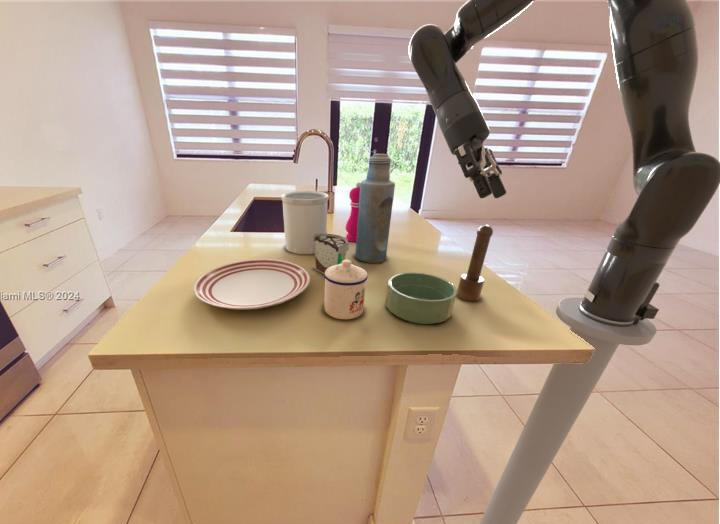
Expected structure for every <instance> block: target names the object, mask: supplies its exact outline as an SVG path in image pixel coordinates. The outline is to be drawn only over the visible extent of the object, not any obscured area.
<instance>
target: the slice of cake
mask: <svg viewBox="0 0 720 524" xmlns="http://www.w3.org/2000/svg"><path fill="white" fill-rule="evenodd" d="M313 241H314V248H315V254H314V266H315V270H316V271H318V272H319V273H321V274H323V275H324V273H325V271H326V269H327V268H329V267H331V266H334V265H338V264H342V261H343V260H346V256H347V252H348V251H349V250H350V246H349V241H348V240H347V239H346V237H345V236H342V235H339V234H333V233H327V234H314V237H313Z"/></svg>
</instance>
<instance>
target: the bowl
mask: <svg viewBox="0 0 720 524" xmlns="http://www.w3.org/2000/svg"><path fill="white" fill-rule="evenodd" d="M387 283H388V284H387V288H386V297H385V306H386V308H387V309H388V311H389V312H390V313H392V314H393V315H395V316H396V317H398V318H400V319H402V320H404V321H406V322H410V323H413V324H420V325H433V324H439V323H443V322H445V321H447V320H448V319H450V318H451V317H452V313H453V309H454V306H455V300H456V299H457V298H456V297H457V295H456V294H457V289H458V288H457V287H456V286H455V285H454V284H453V283H452V282H451V281H449V280H447V279H445V278H443V277H440V276H437V275H434V274H429V273H424V272H402V273H397V274H395V275H393V276H391V277H390V278H389V279H388V282H387Z"/></svg>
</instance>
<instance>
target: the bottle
mask: <svg viewBox="0 0 720 524" xmlns="http://www.w3.org/2000/svg"><path fill="white" fill-rule="evenodd" d="M391 164H392V159H391V157H389V154H386V153H372V156H370V157H369V159H368V168H367V173H366V178H365V179H364V180H361V181H360V183H361V184H360V198H359V213H358V226H357V241H356V242H355V258H356V259H357V260H359V261H361V262H365V263H370V264H371V263H373V264H374V263H375V264H376V263H381V262H384V261H385V260H386V258H387V253H388V246H389V245H388V244H389V235H390V229H391V219H392V213H393V206H394V205H393V204H394V197H395V187H396V183H395V182H394V181H393V180H391V179H390V177H391Z"/></svg>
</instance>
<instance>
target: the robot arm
mask: <svg viewBox="0 0 720 524" xmlns="http://www.w3.org/2000/svg"><path fill="white" fill-rule="evenodd" d="M535 1H536V0H467V1H466V2H465V3H464V4H463V5H462V6H460V7H459V9H458V10H457V13H456V17H455V21H454V24H453V25H452V26H450V27H449V29H448V30H447V31H446V32H444V31H443V29H442V28H441V27H439V26H438V25H436V24H433V23H429V24H424V25H422V26H420V27H419V28H418V29H417V30H416V31H415V32H414V34H413V35H412V37H411V39H410V41H409V45H408V57H409V60H410V63H411V65H412V67H413V69H414V70H415V72H416V74H417V76H418V79H419V80H420V82H421V84H422V85H423V87H424V89H425V91H426V94H427V98H428V100H429V104H430V105H431V107H432V110H433V112H434V114H435V116H436V119H437V123H438V126H439V129H440V132H441V133H442V136H443V137H444V140H445V142H446V144H447V146H448V149H449V151H450V153H451V155H453V156H456V159H457V162H458V164H459V166H460V168H461V171H462V173H463V176H464V178H465V179H468V180H469V181H470V182H472V183H473V186H474V188H475V190H476V192H477V194H478V197H479V198H480V199H485V198H488V197H489V196H491V195H493V198H494V199H499V198H501V197H503V196H505V195H506V194H507V190H506V188H505V186H504V184H503V181H502V179H501V175H502V174H503V171H502V170H501V167H500V165H499V164H498V161H497V159H496V157H495V155H494V153H493V150H492V149H491V148H488V147H485V146H484V145H483V143H484V141H486V140H487V139H488V137H489V136H490V133H491V129H490V128H489V125H488V123H487V121H486V119H485V117H484V115H483V112H482V110H481V108H480V106H479V103H478V102H477V99H476V98H475V97H474V95H473V94H472V92H471V90H470V88H469V85H468V84H467V81H466V78H464V76H463V74H462V72H461V71H460V69H459V67H458V65H457V63H458V62H459V61H460V60H461V59H462V58H463V57H465V56H466V54H467V53H468V52H469V51H470V50H471V49H473V47H474V46H476V45H477V44H478V43H480V42H481V41H483V40H484V39H486V38H487V37H489V36H490V35H492V34H493V33H495V32H496V31H498V30H499V29H501V28H502V27H503V26H505V25H506V24H508V23H509V22H511V21H512V20H513V19H514V18H516V17H517V16H519V15H520V14H521V13H522V12H523V11H525V9H527V8H528V7H529V6H530V5H532V3H534V2H535ZM606 1H607V6H608V17H609V29H610V37H611V38H610V39H611V45H612V53H613V60H614V61H613V63H614V67H615V73H616V80H617V84H618V89H619V93H620V98H621V102H622V106H623V110H624V111H623V112H624V114H625V118H626V122H627V126H628V128H629V132H630V138H631V147H632V185H633V189H634V191H635V193H636V195H637V198H636V200H635V202H634V204H633V206H632V208H631V210H630V211H629V214H628V215H627V217H626V218H625V219H624V220H623V221H621V222H619V223H618V225H617V226H616V228H615V230H614V232H613V234H612V237H611V239H610V241H609V243H608V246H607V247H606V250H605V251H604V254H603V256H602V258H601V261H600V262H599V265H598V266H597V269H596V271H595V273H594V275H593V277H592V280H591V282H590V284H589V286H588V288H587V289H586V291H585V292H584V295H583V298H584V299H583V301H582V303H581V304H580V306H579V311H580V312H581V313H582V314H583V315H585V316H586V317H588V318H590V319H593V320H595V321H598V322H600V323H604V324H607V325H612V326H619V327H627V326H631V325H632V324H634V325H637V324H638V322H639V320H641V321H642V320H643V319H645V318H646V319H648V320H654V319H655V318H656V316H657V314H658V312H659V311H660V309H659V308H657V307H656V306H654V305H653V304H651V302H652V300H653V298H654V296H655V295H656V293H657V291H658V290H659V288H660V286H661V285H660V283H659V282H657V281H658V279H659V277H660V276H661V274H662V272H663V270H664V269H665V267H666V265H667V263H668V261H669V260H670V258H671V256H672V254H673V253H674V251H675V249H676V247H677V246H678V244H679V243H680V241H681V240H682V238H685V236H686V235H688V234H689V233H690V232H691V231H692V229H693V228H694V227H695V226H696V224H697V223H698V221H699V219H700V217H701V216H702V214H703V213H704V211H705V210H706V208H708V205H709V203H710V202H711V200H712V199H713V198H714V196H715V194H716V192H717V190H718V188H719V187H720V160H718V158H716V157H715V156H713V155H711V154H708V153H704V152H698V151H697V150H696V147H695V145H694V141H693V137H692V132H691V127H690V121H689V120H690V118H689V114H690V105H691V100H692V96H693V93H694V90H695V89H694V88H695V85H696V80H697V74H698V67H699V48H698V47H699V46H698V44H699V43H698V36H697V28H696V21H695V17H694V13H693V11H692V8H691V7H690V4H689V2H688V0H606ZM491 172H492V173H491Z"/></svg>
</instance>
